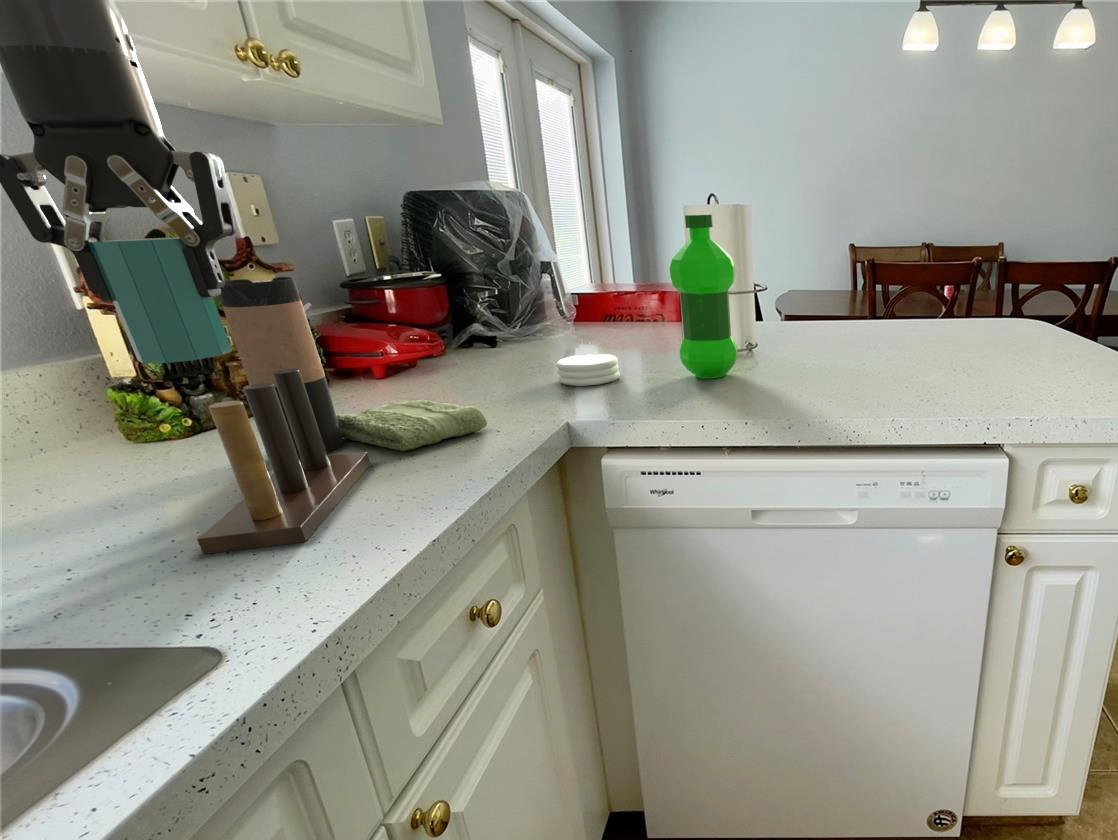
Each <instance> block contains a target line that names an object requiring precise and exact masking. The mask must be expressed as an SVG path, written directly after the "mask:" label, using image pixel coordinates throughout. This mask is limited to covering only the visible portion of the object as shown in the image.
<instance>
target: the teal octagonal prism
mask: <svg viewBox="0 0 1118 840" xmlns="http://www.w3.org/2000/svg"><path fill="white" fill-rule="evenodd" d="M88 244H89V246H90V248H91V251H92V253H93V255H94V258H95V260H96V263H97V265H98V267H99V270H100V272H101V274H102V277H103V279H104V282H105V284H106V286H107V289H108V291H109V293H110V296H111V298H112V301H113V302H112V303H113V305H114V308H115V310H116V312H117V315H118V317H119V319H120V322H121V324H122V326H123V329H124V331H125V334H126V336H127V339H128V341H129V343H130V346H131V348H132V350H133V353H134V355H135V357H136V360H137V361H138V362H140V363H142V364H170V363H180V362H189V361H197V360H203V359H204V360H205V359H209V358H214V357H219V356H224V355H226V354H228V353H231V352H233V349H232V346H231V343H230V340H229V337H228V334H227V332H226V330H225V326H224V324H223V321H222V319H221V316H220V313H219V310H218V307H217V305H216V302H215V299H214V297H201V296H200V295H199V293H198V290H197V288H196V285H195V282H194V280H193V277H192V274H191V272H190V269H189V266H188V264H187V261H186V258H185V256H184V253H183V250H182V249H183V248H187V247H186V244H185V243H184V242H183V241H182V240H181V239H180V238H179V237H153V238H131V239H130V238H128V239H109V240H103V241H91V242H88Z"/></svg>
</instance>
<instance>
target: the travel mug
mask: <svg viewBox="0 0 1118 840" xmlns="http://www.w3.org/2000/svg"><path fill="white" fill-rule="evenodd" d="M220 290H221V294H220V295H219V296H218V297H219V298H218V299H219V300H220V303H221V306H222V309H223V312H224V314H225V318H226V321H227V324H228V326H229V329H230V333H231V335H232V336H231V337H232V339H233V341H234V343H235V347H236V350H237V353H238V356H239V359H240V362H241V365H242V367H243V371H244V373H245V376H246V379H247V382H248V386H249V385H254V384H261V383H272V384H274V387H275V390H276V393H277V396H278V399H279V402H280V404H281V407H282V410H283V413H284V416H285V419H286V422H287V425H288V428H289V431H290V434H291V437H292V440H293V442H294V445H295V448H296V451H297V454H298V457H299V458H301V457H300V454H299V451H298V448H297V445H296V442H295V439H294V436H293V433H292V430H291V427H290V425H289V422H288V419H287V416H286V413H285V410H284V407H283V404H282V401H281V398H280V395H279V392H278V389H277V386H276V383H275V381H274V378H273V375H272V372H274V371H278V370H283V369H299V370H300V373H301V376H302V379H303V382H304V385H305V388H306V391H307V394H308V398H309V401H310V404H311V407H312V410H313V413H314V416H315V419H316V422H317V425H318V428H319V432H320V435H321V438H322V441H323V444H324V447H325V450H326V453H330V452H333V451H335V450H338V449H340V448H341V447H343V445H344V441H343V437H342V436H341V432H340V428H339V425H338V421H337V417H336V416H337V414H336V410H335V406H334V402H333V400H332V396H331V391H330V388H329V384H328V379H327V377H326V374H325V370H324V367H323V365H322V362H321V358H320V355H319V352H318V348H317V345H316V342H315V339H314V336H313V333H312V330H311V327H310V324H309V321H308V318H307V315H306V314H307V313H306V311H305V308H304V305H303V301H302V300H301V299H302V298H301V294H300V292H299V288H298V286H297V282H296V280H295V278H294V277H290V276H278V277H274V278H272V280H270V281H256V282H254V281H252V280H250V279H249V278H248V279H247V278H241V279H239V278H238V279H230V280H225V286H224V287H223V288H220Z"/></svg>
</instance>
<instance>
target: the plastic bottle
mask: <svg viewBox="0 0 1118 840" xmlns="http://www.w3.org/2000/svg"><path fill="white" fill-rule="evenodd" d="M684 221H685V228H686V229H689V239H688V241H687V242H685V244H684V245H683V246H682V247H681V248H679V250H678V251H677V253H675V255H674V256H673V257H672V259H671V261H670V264H669V265H670V266H669V276H670V280H671V283H672V286H673V287H674V289H676V291H678V292H679V296H680V306H681V307H680V308H681V318H682V329H683V340H682V342H681V345H680V349H679V359H680V361H681V363H682V366H684V367H685V368H686V369H687V370H688V371H689V373H691V374H693V375H695V378H699V379H717V378H718V379H719V378H722V377H726V375H727V373H728V372H729V371H730V370H731V369H732V368H733V366H734V365H735V363H736V361H737V357H738V354H739V353H738V352H739V351H738V345H737V342H736V340H735V338H734V337H733V335H732V330H731V328H732V327H731V326H732V325H731V311H730V296H729V295H730V294H729V289H730V288H731V287H732V286H733V285H734V283H735V276H736V268H735V267H736V265H735V262H734V260H733V258H732V256H731V255H730V254H729V253H728V252H727V251H726V250H725V249H724V248H723V247H722V246H721V245H719V244H718V242H716V241H715V240H714V239H712V238H711V228H713V227H714V222H713V221H714V220H713V214H685V215H684Z"/></svg>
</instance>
